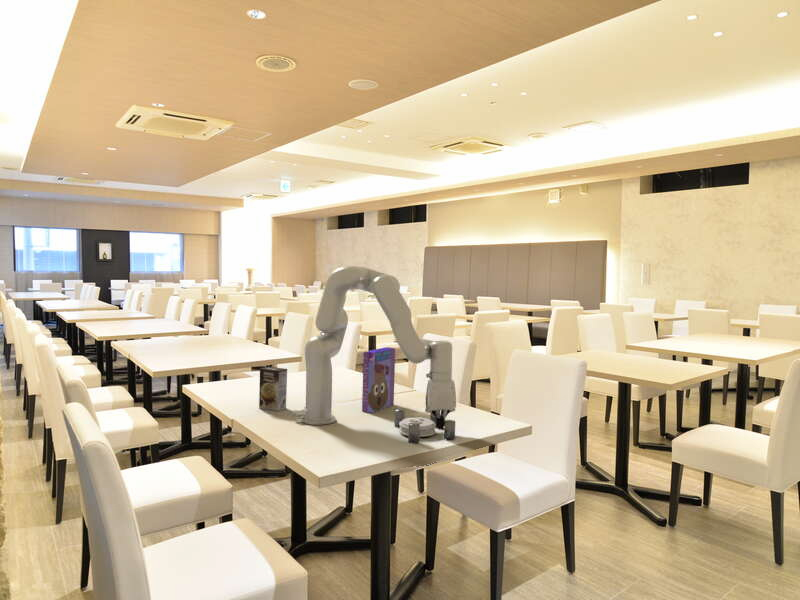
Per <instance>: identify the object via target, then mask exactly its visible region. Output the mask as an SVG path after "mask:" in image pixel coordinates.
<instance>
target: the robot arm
mask: <svg viewBox="0 0 800 600" xmlns="http://www.w3.org/2000/svg"><path fill="white" fill-rule="evenodd" d="M400 284H401V283H400V282H399V279H398V278H397V277H395V276H394V275H391V274H387V273H384V272H380V271H377V270H374V269H370V268H367V267H364V266H356V265H355V266H354V265H351V266H350V265H349V266H343V267H339V268H337V269H335V270H334V271H332V272H331V273H330V274H329V275H328V277H327V279H326V282H325V283H324V289H323V293H322V296H321V298H320V303H319V307H318V309H317V313H316V316H315V320H314V323H315V326H316V328H317V331H319V332H320V334H317V335H315V336H312V337H311V338H310V339H308V341H307V342H306V344H305V346H304V359H305V369H306V371H305V406H304V407H303V408H301V409H300V410H297V409H296V410H295V409H294V410H292V416H293V417H294V416H296V417H297V418H298V417H300V418H301V419H300V421H301V422H302V423H304V424H306V425H312V426H322V425H323V426H325V425H329V424H333V423H334V422H336V416H335V415H333V414H332V411H333V410H332V407H333V406H332V404H333V403H332V402H333V366H332V360H331V359H332V358H334V357H335V356H338V354H339V353H340V351H341V348H342V345H343V342H344V338H345V334H346V331H347V328H348V324H349V323H348V322H349V318H348V313H347V312H346V310H345V309H344V306H345V303H346V299H347V292H348V291H355V290H360V291H364V292H368V293H371V294H373V296H374V298H375V299H376V302H377V303H378V304H379V306H380V307H381V309H382V311H383V313H384V314H385V316H386V318H387V320H388V322H389V325H390V328H391V330H392V333H393V337H394V338H395V340H396V342H397V344H398V346H399V348H400V350H401V351H402V353H403V355H404V356H405V358H406V359H407V360H408V361H409V362H410V363H412V364H421V363H423V362H424V361H427V360H429V361H430V362H429V363H430V365H429V366H430V371H429V372H428V373H426V375H425V376H426V378H429V379H428V381H427V386H426V390H425V391H426V393H425V410H424V411H425V413H428V414H430V413H432V414H433V415H434V416H435V424H436V427H435V428H436V429H438V430H439V431H440V430H444V429H445V420H446V418H447V416H448V415H449V414H450V413H454V412H456V409H457V394H456V384H455V380H453V377H452V376H453V372H452V371H453V343H452V342H451V341H447V340H430V339H425V338H420V336H419V335H418V333H417V332H416V329H415V327H414V325H413V321H412V311H411V309H410V307H409V305H408V303H407V302H406V299H405V298H404V296H403V294H402V293H401V291H400V290H401V285H400ZM439 410H440V413H439Z"/></svg>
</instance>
